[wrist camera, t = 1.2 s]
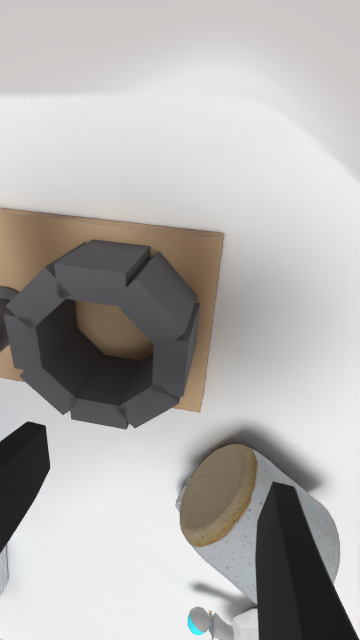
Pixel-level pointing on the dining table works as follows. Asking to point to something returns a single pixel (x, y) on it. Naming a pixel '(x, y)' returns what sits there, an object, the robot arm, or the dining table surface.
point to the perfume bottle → (224, 625)
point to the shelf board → (101, 319)
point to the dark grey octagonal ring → (83, 356)
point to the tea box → (3, 570)
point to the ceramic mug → (243, 514)
